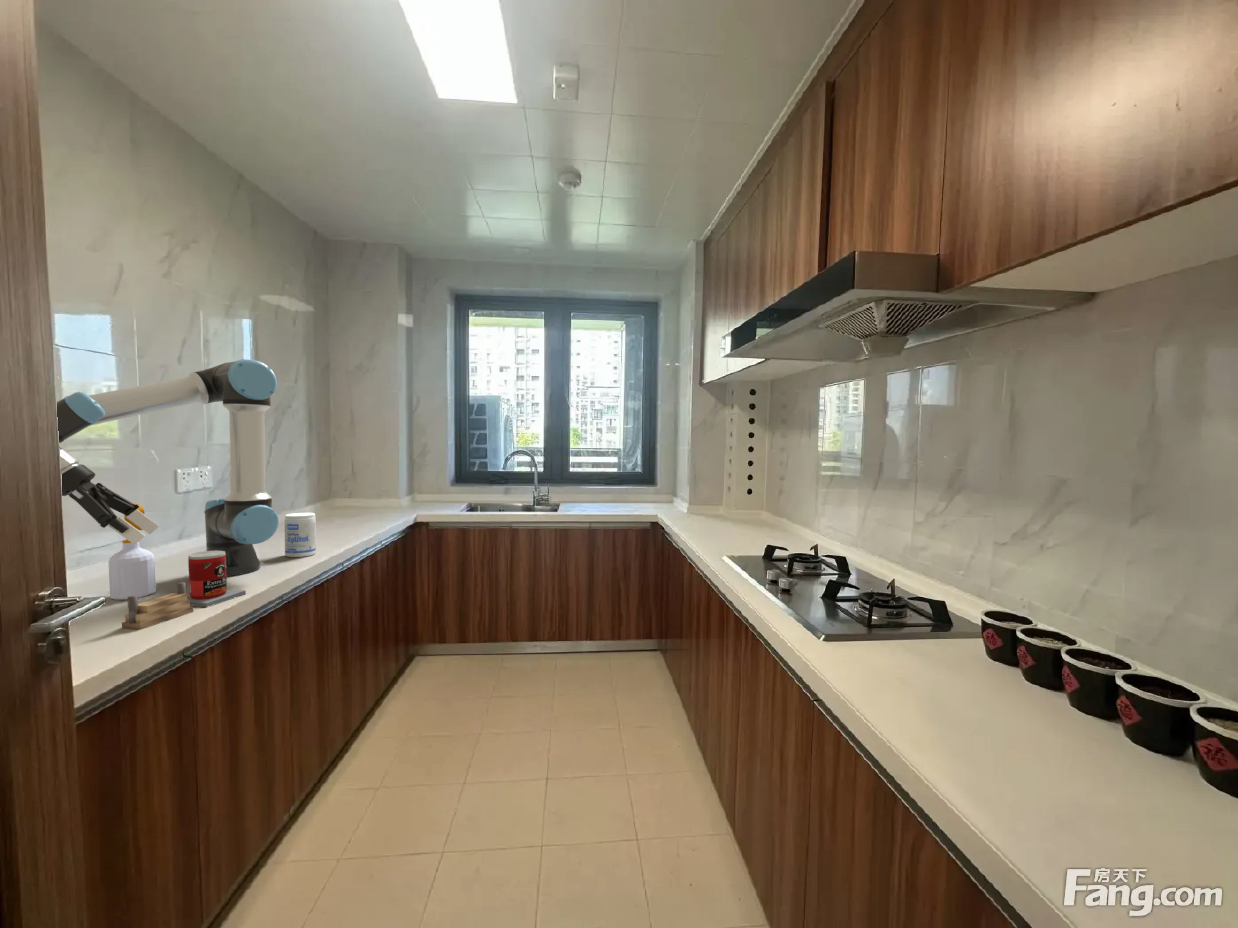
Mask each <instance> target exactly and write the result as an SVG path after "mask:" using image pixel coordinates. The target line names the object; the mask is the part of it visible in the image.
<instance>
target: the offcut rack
mask: <svg viewBox="0 0 1238 928" xmlns="http://www.w3.org/2000/svg"><path fill="white" fill-rule="evenodd" d="M187 595H188V594H187V591H186V582H183V581H182V582H178V583H176V592H172V593H168V594H166V595H163V596H162V595H161V596H159V597H156V598H153V599H150V600H146V601H143V602H140V603H139V602H138V599H139V598H138V597H137V596H129V597H128V599H127V608H128V609H127V613H125V614H124V619H125V620H124V621H122V622H121V628H122V629H132V630H143V629H146V628H148V627H152V626H154V625H157V624H161V623H163V621H164V622H166V620H167V621H170V620H172V619H173V620H174V619H176V618H179V617H181V616H184V614H185V615H188V614H190V613H189V612H191V613H193V612H194V606H190V600H187ZM187 613H188V614H187ZM169 619H170V620H169ZM160 622H161V623H160Z"/></svg>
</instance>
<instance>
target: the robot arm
mask: <svg viewBox="0 0 1238 928" xmlns="http://www.w3.org/2000/svg"><path fill="white" fill-rule="evenodd" d="M277 386H278V381H277V377H276V374H275V373H274V371H273V369H272V368H270V367H269V366H268V365H267V364H265V363H263V362H262V361H259V360H256V359H239V360H235V361H229V362H224V363H221V364H219V365H218V364H217V365H215V366H213V367H209V368H205V369H202V370H198V371H193V372H190V373H189V374H188V376H186V377H184V376H183V377H179V378H174V379H170V380H163V381H159V382H153V383H149V384H142V385H137V386H132V387H127V388H122V389H116V390H110V391H105V392H99V393H95V394H90V395H89V394H86V393H85V392H82V391H81V392H80V391H77V392H74V393H72V394H70V395H67V396H65V397H64V398H62V399H60V400H58V401H57V417H58V431H59V444H61V443H63V442H64V441H65V440H67V439H69V438H72V437H73V436H74V435H76V434H78V433H79V432H81V431H83V430H84V429H86V428H88V427H90V426H94V425H95V426H96V425H99V424H103V423H108V422H112V421H117V420H123V419H126V418H131V417H136V416H139V415H145V414H149V413H153V412H159V411H162V410H163V411H165V410H167V409H172V408H178V407H182V406H185V405H186V406H187V405H191V404H195V403H196V404H197V403H200V404H202V405H207V404H208V405H209V404H212V403H218V402H219V403H220V402H222V406H223V407H224V408H226V410H228V412H229V413H228V414H229V416H228V418H229V466H230V468H229V469H230V473H229V475H230V476H229V477H230V480H229V482H230V493H229V494H228V495H227V496H225V498H218V499H210V500H208V501H206V502H205V505H204V513H203V514H204V521H205V522H204V524H205V542H206V543H205V544H206V545H205V546H206V547H205V548H206V549H205V551H225V554H226V577H231V576H238V575H243V574H248V573H252V572H255V571H257V570H259V569H260V568H261V562H260V559H259V558H258V555H257V552H256V549H255V548H254V545H259V544H262V543H264V542H266V541H268V540H269V539H271V538H272V537H273V536H274V535H275V533H276V532H277V530H278V528H279V516H278V513H277V512H276V511H275V510H274V509H273V500H272V499H273V497H272V496H271V495H270V494H269V493H268V492H267V491H266V489H267V488H266V429H265V427H266V426H265V425H266V423H265V422H266V421H265V420H266V419H265V416H266V414H265V413H266V412H267V411H268V410H269V409H270V408H271V401H272V399H271V396H273V394H274V393H275V392H276V390H277ZM59 448H60V462H61V474H62V495H61V496H62V497H66V496H69V498H71V499H73V501H75V502H76V503H78V505H79V506H80V507H82V509H83V510H84V511H85V512H86V513H87V514H89V515H90V517H91V518H93V519H94V520H95V521H96V523H98V525H99V526H100V527H101V528H104V529H105V528H107V527H110V528H111V529H112V530H113V531H115V532H116V533H118V534H119V535H120V536H121V537H123V538H125V540H129V541H130V542H131V543H133V544H135V543H137V542H138V541H139V542H140V541H141V540H142V539H143V538H145V537H146V534H148V535H151V534H152V533H154V532H155V531H156V530H157V529H158V528H160V527H161V526H160V525H159V524H157V522H155V521H154V520H152V519H151V518H149V517H148V516H147V515H144V514H145V513H144V514H143V513H141V512H140V511H139V510H137V509H138V508H139V506H138V505H137V504H138V503H137V504H136V505H135V504H133V503H134V502H132V501H130V500H128V499H126V498H124V497H123V496H121V495H120V494H118V493H116V492H114V491H112V490H111V489H109V488H108V487H106V486H105V485H104V484H103V483H101V482H97V483H96V484H95V483H93V482H91V481H92V480H94V478H95V477H96V473H95V472H94V471H93V470H92V469H90V468H89V467H87V465H85V464H80V460H78V459H77V458H75V457H74V456H72V454H70V453H69V452H68V451H66V450H65V449H63V448H62V447H60V446H59ZM114 511H116V512H118V513H120V514H122V515H126V516H127V517H126V518H128V519H129V520H131V521H132V522H133V523H135V524H136V525H137V526H139V527H140V528H141V529H143V530H142V531H144V532H145V533H146V534H145V533H143V532H142V531H141V530H138V529H136V528H135V527H133V526H132V525H131V524H129V523H128V522H127V521H125V518H122V516H119V517H118V516H117V515H116V514H115V512H114Z"/></svg>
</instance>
